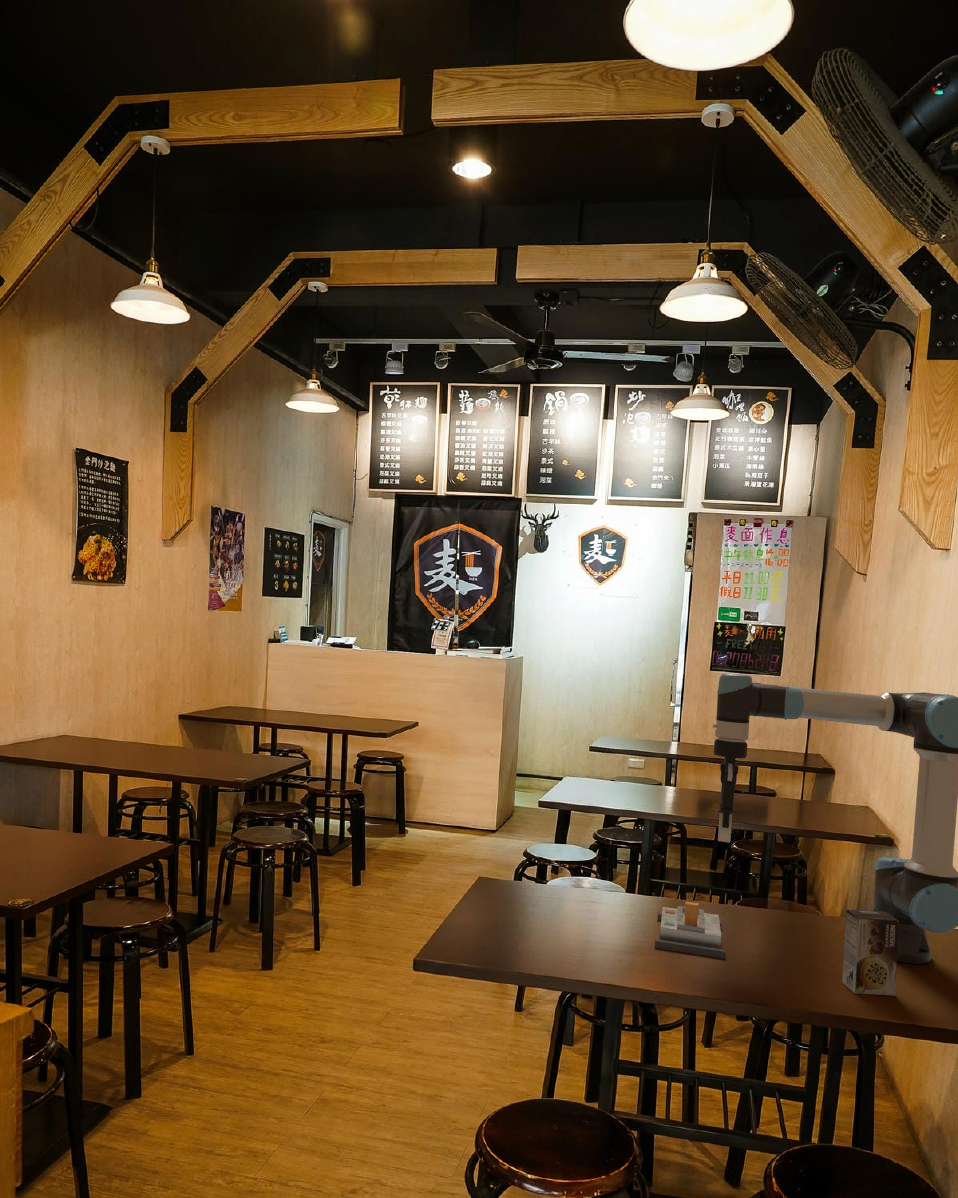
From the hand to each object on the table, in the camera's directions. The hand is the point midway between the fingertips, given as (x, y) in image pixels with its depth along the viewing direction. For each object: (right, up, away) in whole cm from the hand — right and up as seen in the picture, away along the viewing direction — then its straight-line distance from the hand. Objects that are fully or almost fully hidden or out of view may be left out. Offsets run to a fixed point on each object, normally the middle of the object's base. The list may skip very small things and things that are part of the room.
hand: (724, 841), depth 209 cm
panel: (-6, -27, +11) cm, 29 cm away
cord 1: (-3, -27, +21) cm, 35 cm away
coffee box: (+27, -28, -15) cm, 42 cm away
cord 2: (-8, -26, 0) cm, 27 cm away
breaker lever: (-6, -22, +7) cm, 24 cm away
